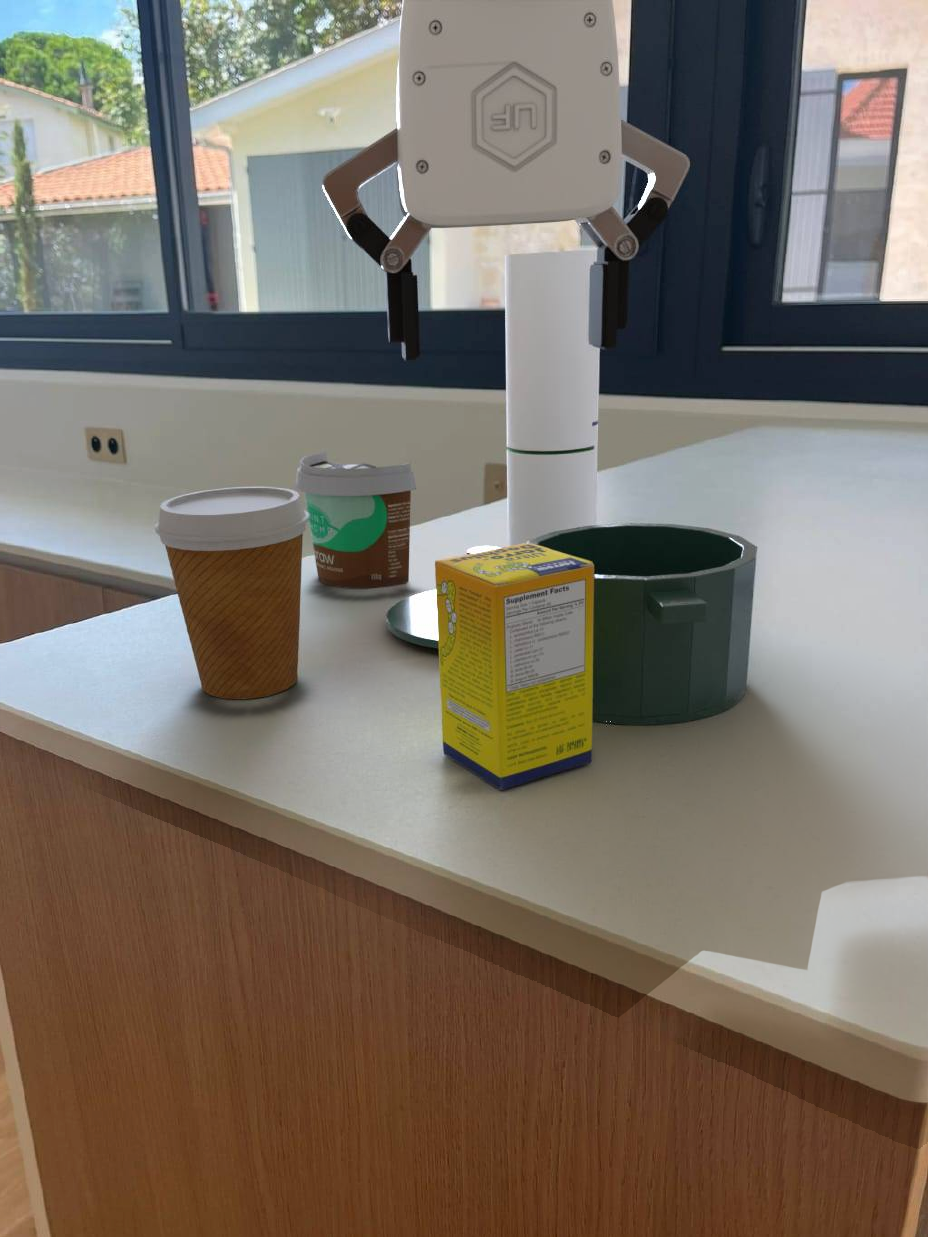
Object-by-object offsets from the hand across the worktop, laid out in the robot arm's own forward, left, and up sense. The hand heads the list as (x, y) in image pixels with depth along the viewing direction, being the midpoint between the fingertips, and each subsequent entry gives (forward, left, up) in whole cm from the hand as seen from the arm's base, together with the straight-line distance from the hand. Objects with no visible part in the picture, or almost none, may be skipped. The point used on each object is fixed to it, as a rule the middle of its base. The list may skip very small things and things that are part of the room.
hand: (506, 352), depth 55 cm
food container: (+8, -35, -21) cm, 41 cm away
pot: (-9, -6, -20) cm, 23 cm away
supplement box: (0, +4, -21) cm, 21 cm away
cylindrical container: (-9, -31, -21) cm, 38 cm away
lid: (-1, -19, -20) cm, 28 cm away
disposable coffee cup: (+15, -11, -21) cm, 28 cm away
